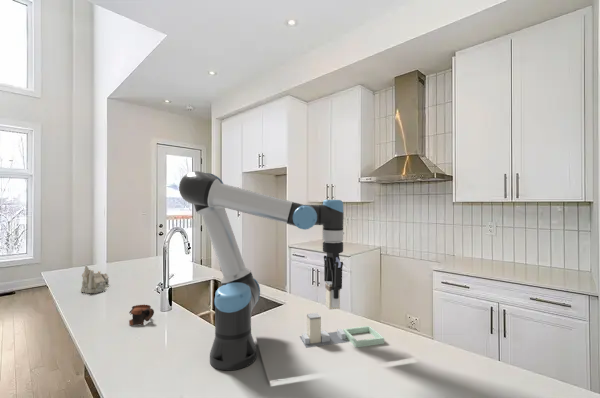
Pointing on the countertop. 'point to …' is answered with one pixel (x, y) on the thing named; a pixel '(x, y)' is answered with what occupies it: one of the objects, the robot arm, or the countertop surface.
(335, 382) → the countertop surface
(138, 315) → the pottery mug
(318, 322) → the block
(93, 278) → the ceramic cottage
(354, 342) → the tray
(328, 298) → the block
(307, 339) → the block
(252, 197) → the robot arm
